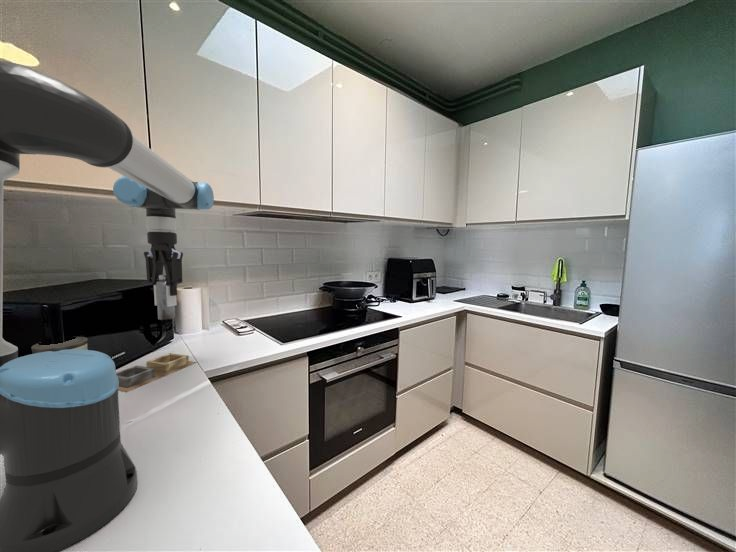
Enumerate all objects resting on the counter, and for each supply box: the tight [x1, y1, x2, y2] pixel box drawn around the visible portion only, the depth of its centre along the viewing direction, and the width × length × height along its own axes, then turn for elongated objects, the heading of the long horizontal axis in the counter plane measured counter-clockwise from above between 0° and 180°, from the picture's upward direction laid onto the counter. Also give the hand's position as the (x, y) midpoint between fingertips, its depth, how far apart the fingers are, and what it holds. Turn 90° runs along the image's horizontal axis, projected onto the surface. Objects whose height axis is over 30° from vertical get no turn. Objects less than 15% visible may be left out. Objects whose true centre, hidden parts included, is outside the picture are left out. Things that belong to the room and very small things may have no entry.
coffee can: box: [30, 336, 89, 354], centre depth 78 cm, size 10×10×14 cm
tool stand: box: [116, 352, 198, 393], centre depth 88 cm, size 22×12×4 cm, turn 164°
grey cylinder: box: [156, 273, 176, 321], centre depth 91 cm, size 4×4×14 cm
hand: (165, 305), depth 92 cm, fingers closed on grey cylinder, 4 cm apart
